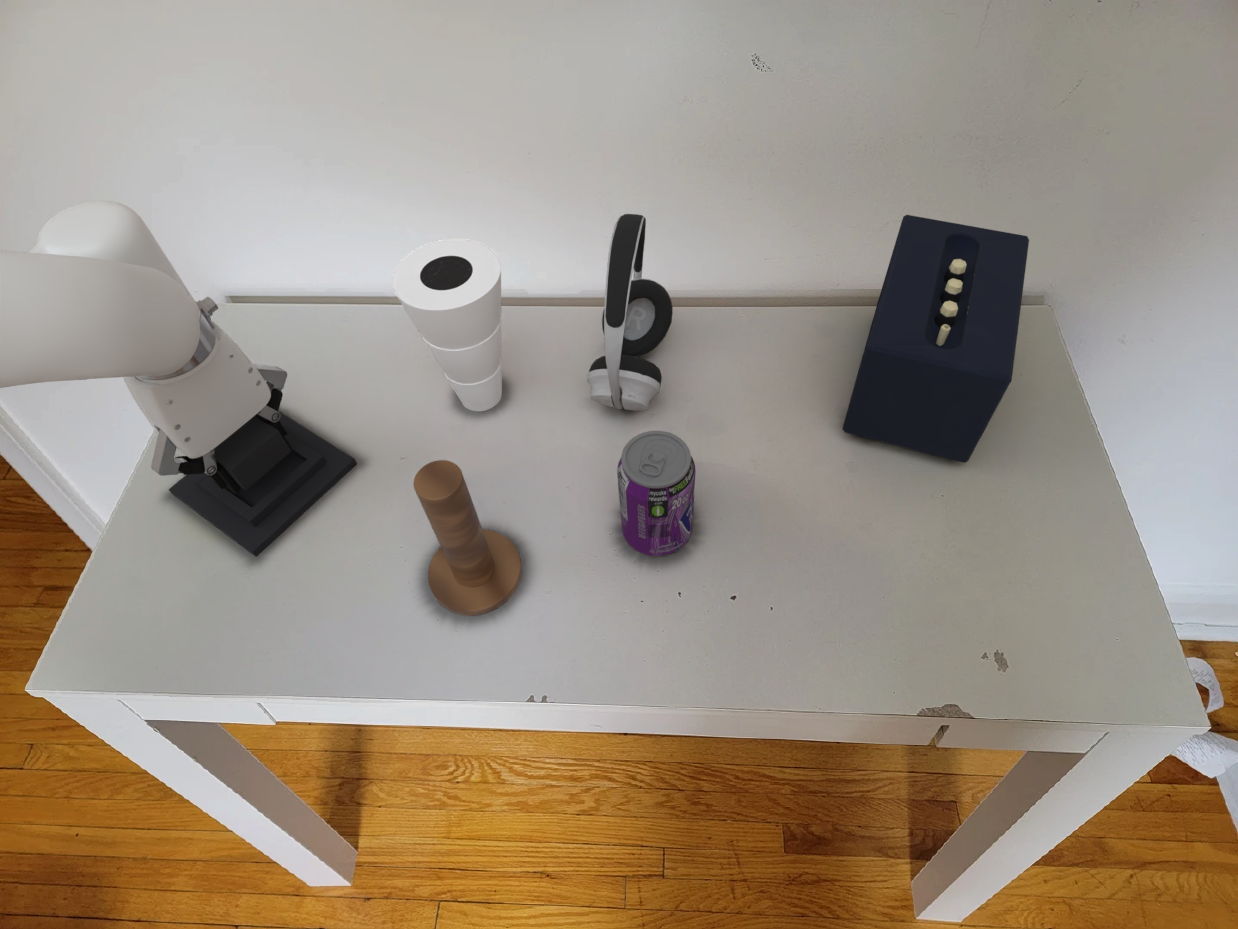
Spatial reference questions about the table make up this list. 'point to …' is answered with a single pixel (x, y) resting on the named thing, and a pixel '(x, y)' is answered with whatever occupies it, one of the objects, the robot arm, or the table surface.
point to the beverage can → (656, 492)
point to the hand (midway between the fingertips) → (254, 463)
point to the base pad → (269, 490)
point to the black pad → (251, 452)
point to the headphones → (629, 323)
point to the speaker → (940, 338)
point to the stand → (464, 546)
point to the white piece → (457, 313)
